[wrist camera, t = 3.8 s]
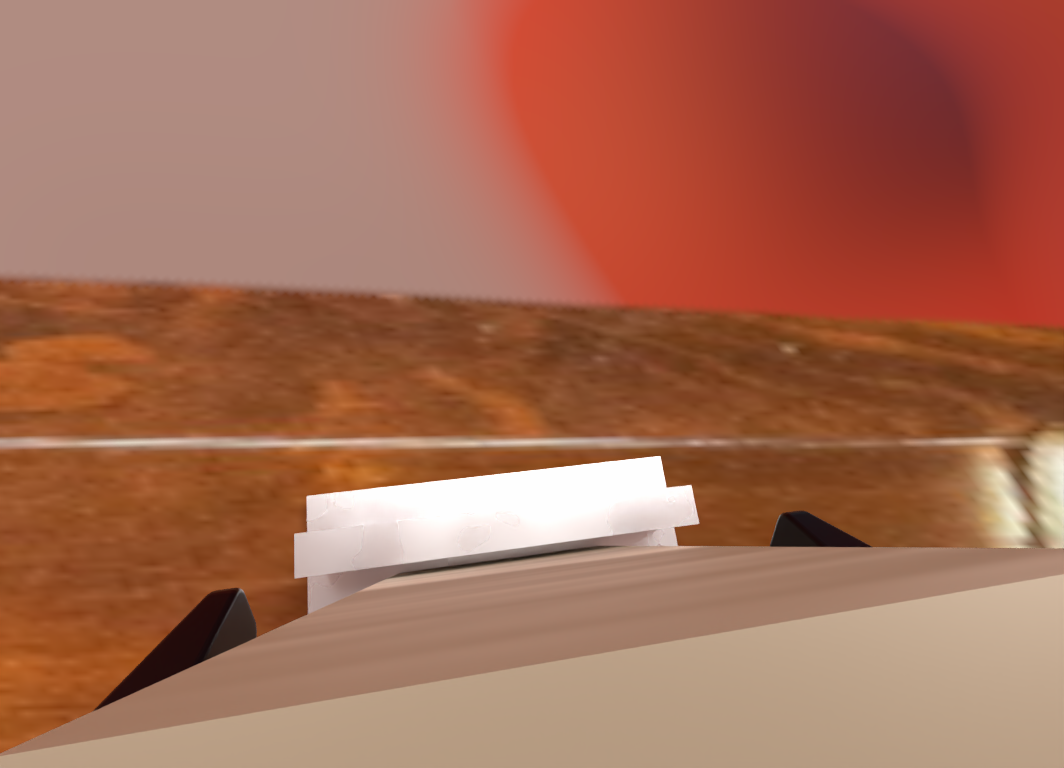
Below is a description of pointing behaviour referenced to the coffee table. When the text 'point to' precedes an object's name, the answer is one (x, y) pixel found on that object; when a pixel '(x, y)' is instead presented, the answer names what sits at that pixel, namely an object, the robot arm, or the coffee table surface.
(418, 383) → the coffee table surface
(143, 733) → the birch board
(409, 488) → the rack
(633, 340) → the coffee table surface
